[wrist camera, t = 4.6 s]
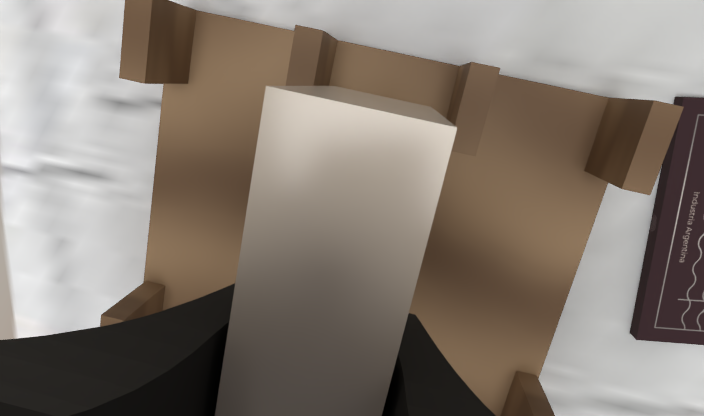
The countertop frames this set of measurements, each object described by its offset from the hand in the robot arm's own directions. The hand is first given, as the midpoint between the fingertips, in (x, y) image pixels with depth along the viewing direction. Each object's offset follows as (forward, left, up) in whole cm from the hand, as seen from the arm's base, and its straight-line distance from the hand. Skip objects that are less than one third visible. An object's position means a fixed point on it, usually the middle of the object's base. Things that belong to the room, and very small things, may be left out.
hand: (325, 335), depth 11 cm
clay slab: (0, 0, -3) cm, 3 cm away
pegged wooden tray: (0, 0, -9) cm, 9 cm away
